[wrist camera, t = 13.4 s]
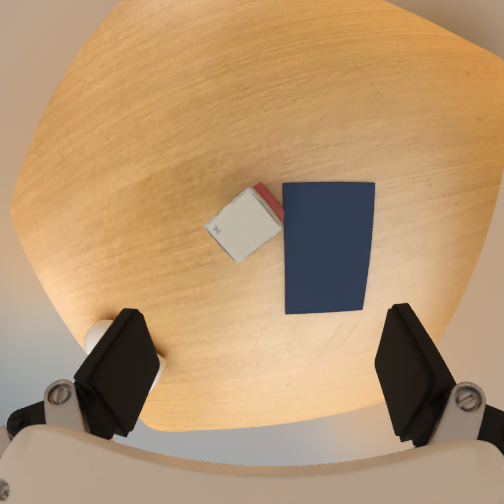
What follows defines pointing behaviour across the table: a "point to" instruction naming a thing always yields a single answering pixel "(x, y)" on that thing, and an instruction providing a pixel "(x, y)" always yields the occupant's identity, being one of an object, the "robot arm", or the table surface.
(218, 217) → the small box
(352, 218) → the cloth
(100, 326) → the white rounded piece
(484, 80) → the table surface
